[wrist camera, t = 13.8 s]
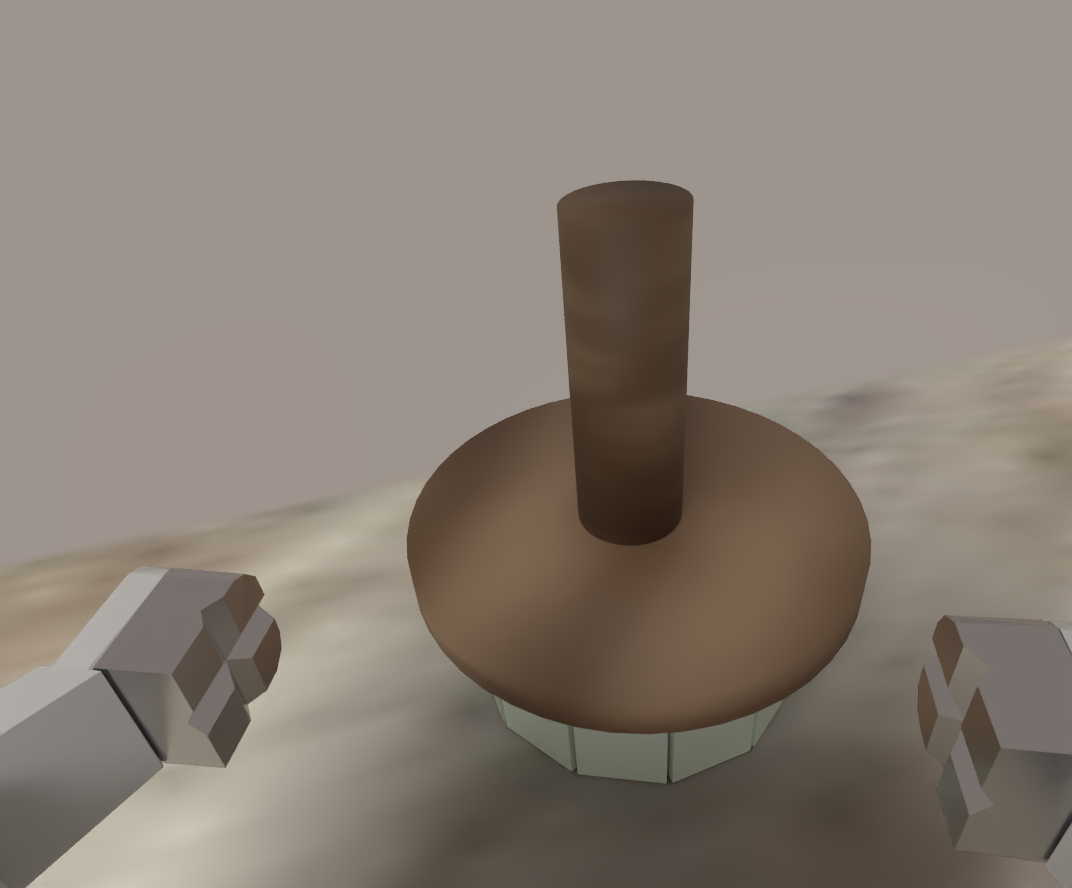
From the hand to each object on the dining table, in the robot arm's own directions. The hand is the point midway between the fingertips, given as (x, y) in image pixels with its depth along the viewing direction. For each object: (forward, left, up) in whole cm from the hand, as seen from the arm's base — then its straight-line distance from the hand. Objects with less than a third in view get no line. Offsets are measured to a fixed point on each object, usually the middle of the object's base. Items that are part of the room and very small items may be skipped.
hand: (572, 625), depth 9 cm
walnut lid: (0, +11, -9) cm, 14 cm away
